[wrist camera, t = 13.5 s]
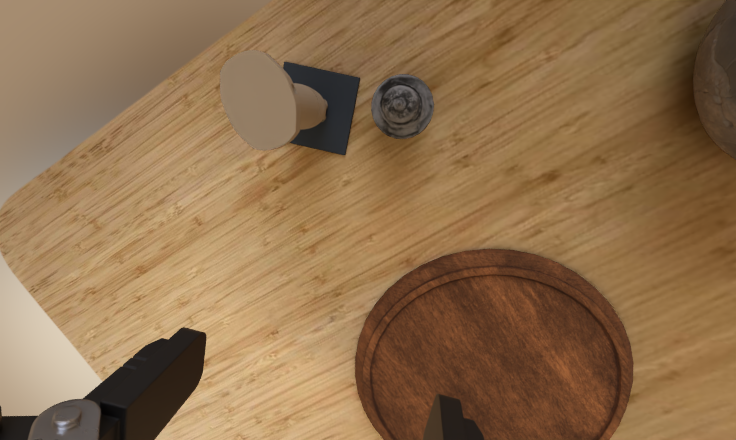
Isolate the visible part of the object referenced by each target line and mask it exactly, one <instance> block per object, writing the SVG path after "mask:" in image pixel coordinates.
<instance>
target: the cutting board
mask: <svg viewBox="0 0 736 440" xmlns="http://www.w3.org/2000/svg"><path fill="white" fill-rule="evenodd" d="M355 377H356V383H357V389H358V394H359V397H360V400H361V402H362V405H363V408H364V411H365V412H366V414H367V416H368V418H369V419H370V421H371V423H372V425H373V426H374V428H375V429H376V430H377V431H378V433H379V434H380V435H381V436H382V438H383V439H384V440H423V435H424V431H425V427H426V424H427V421H428V418H429V415H430V411H431V408H432V405H433V402H434V399H435V396H436V394H441V395H445V396H449V397H453V398H457V399H460V401H461V406H462V412H463V417H464V418H467V419H471V420H474V421H475V423H476V424H477V426H478V428H479V429H480V431H481V432H482V434H483V436H484V440H610V438H611V437H612V435H613V434H614V432H615V431H616V429H617V428H618V426H619V424H620V422H621V419H622V417H623V415H624V413H625V410H626V407H627V403H628V400H629V396H630V392H631V387H632V383H633V358H632V352H631V346H630V342H629V339H628V337H627V334H626V331H625V329H624V326H623V324H622V322H621V321H620V319H619V317H618V316H617V314H616V312H615V311H614V309H613V308H612V306H611V305H610V304H609V303H608V301H607V300H606V299H605V298H604V297H603V296H602V295H601V294H600V293H599V292H598V290H597V289H596V288H594V287H593V286H592V285H591V284H589V283H588V282H587V281H586V280H584V279H583V278H582V277H581V276H579V275H578V274H577V273H575V272H573V271H571V270H570V269H568V268H566V267H564V266H562V265H560V264H559V263H557V262H554V261H551V260H548V259H546V258H543V257H540V256H537V255H534V254H529V253H524V252H519V251H514V250H501V249H482V250H472V251H464V252H460V253H455V254H451V255H447V256H443V257H441V258H438V259H436V260H433V261H431V262H428V263H426V264H423V265H422V266H420V267H418V268H417V269H415V270H413V271H411V272H410V273H408V274H406V275H405V276H403V277H402V278H401V279H400V280H399V281H397V282H396V283H395V284H394V285H393V286H391V287H390V288H389V289H388V290H387V291H386V292H385V294H384V295H383V296H382V297H381V298H380V299H379V301H378V302H377V303H376V304H375V306H374V308H373V309H372V311H371V313H370V314H369V316H368V317H367V319H366V321H365V324H364V327H363V329H362V332H361V334H360V337H359V341H358V347H357V352H356V357H355Z"/></svg>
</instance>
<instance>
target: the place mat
mask: <svg viewBox="0 0 736 440" xmlns="http://www.w3.org/2000/svg"><path fill="white" fill-rule="evenodd" d="M283 69H284V70H285V71H286V73H287V74H288V75H289V76H290V78H291V80H292V82H293V83H297V84H302V85H305V86H308V87H310V88H312V89H314V90H315V91H317V92H318V93H319V94H320V95H321V96H322V98H323V99H325V100H326V101H327V104H328V107H327V109H326V119H325V120H324V121H323V122H320V123H319V124H318V125H316V126H314V127H312V128H309V129H302V130H300V131H299V133H298V135H297V136H296V137H295V138H294V140H292V141H291V142H290V143H293V144H297V145H302V146H306V147H310V148H315V149H319V150H324V151H328V152H332V153H337V154H341V155H345V154H346V149H347V143H348V138H349V133H350V128H351V123H352V117H353V112H354V107H355V102H356V97H357V91H358V86H359V81H360V78H358V77H353V76H349V75H344V74H340V73H335V72H330V71H326V70H321V69H316V68H312V67H307V66H302V65H298V64H293V63H289V62H284V67H283Z"/></svg>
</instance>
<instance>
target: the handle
mask: <svg viewBox="0 0 736 440" xmlns="http://www.w3.org/2000/svg"><path fill="white" fill-rule="evenodd" d="M220 94H221V101H222V104H223V107H224V109H225V112H226V114H227V116H228V119H229V121H230V123H231V125H232V127H233V128H234V130H235V131H236V132H237V133H238V135H239V136H240V137H241V138H242V139H244V140H245V141H246V142H247V143H248V144H249V145H250V146H251V147H252V148H253V149H257V150H264V151H265V150H272V149H276V148H279V147H282V146H284V145H286V144H288V143H290V142H291V141H292V140H294V138H295V137H296V136H297V135H298V133H299V131H300V130H302V129H309V128H312V127H314V126H316V125H318V124H319V123H320V122H323V121H324V120H325V119H326V109H327V107H328V104H327V101H326V100H325V99H323V98H322V96H321V95H320V94H319V93H318V92H317V91H315V90H314V89H312V88H310V87H308V86H305V85H302V84H297V83H293V82H292V80H291V78H290V76H289V75H288V74H287V73H286V71H285V70H284V69H283V68H282V67H281V66H280V65H279V64H278V63H277V62H276V61H275V60H274V59H273V58H272V57H271V56H270V55H269V54H267V53H265V52H262V51H258V50H248V51H244V52H241V53H238V54H236V55H234V56H233V57H231V58H230V59H229V60H228V61H226V63H225V64H224V65H223V67H222V69H221V71H220Z"/></svg>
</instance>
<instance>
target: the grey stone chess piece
mask: <svg viewBox="0 0 736 440" xmlns="http://www.w3.org/2000/svg"><path fill="white" fill-rule="evenodd" d="M433 108H434V102H433V97H432V94H431V92H430V90H429V88H428V87H427V85H426V84H425V83H424V82H423V81H422V80H420V79H419V78H417V77H415V76H412V75H408V74H399V75H395V76H392V77H390V78H388V79H386V80H385V81H384V82H383V83H382V84H381V85H380V86H379V87H378V88H377V90H376V92H375V93H374V96H373V99H372V109H371V111H372V115H373V119H374V121H375V123H376V125H377V127H378V128H379V129H380V130H381V131H382V132H383V133H385V134H386V135H388V136H390V137H393V138H396V139H407V138H411V137H414V136H416V135H418V134H419V133H421V132H422V131H423V130H424V129H425V128H426V127H427V125H428V124H429V122H430V120H431V117H432V115H433Z"/></svg>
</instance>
